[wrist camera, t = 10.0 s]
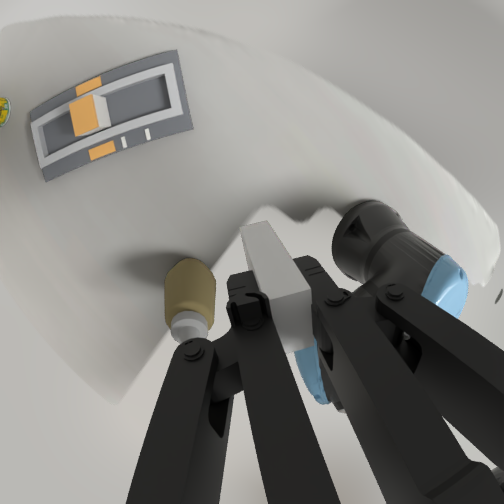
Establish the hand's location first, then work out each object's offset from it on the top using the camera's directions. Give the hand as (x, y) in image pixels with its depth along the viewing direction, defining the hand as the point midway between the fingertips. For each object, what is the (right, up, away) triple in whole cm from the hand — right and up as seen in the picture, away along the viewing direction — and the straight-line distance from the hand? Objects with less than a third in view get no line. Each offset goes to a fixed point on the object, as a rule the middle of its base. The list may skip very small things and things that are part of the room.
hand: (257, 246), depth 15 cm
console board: (-21, +19, +16) cm, 33 cm away
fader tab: (-21, +18, +14) cm, 31 cm away
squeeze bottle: (-10, -4, +30) cm, 32 cm away
